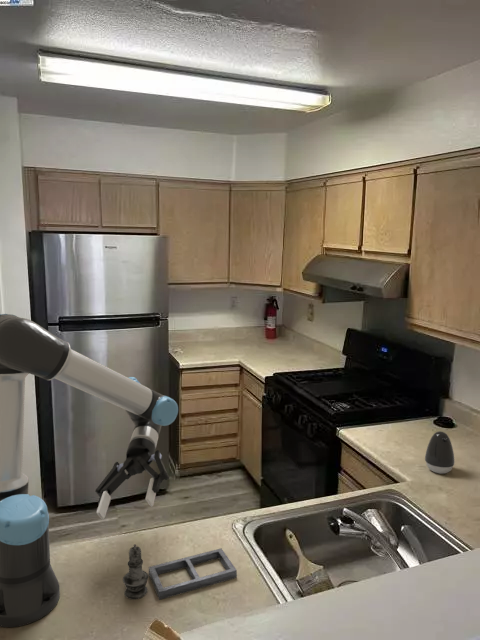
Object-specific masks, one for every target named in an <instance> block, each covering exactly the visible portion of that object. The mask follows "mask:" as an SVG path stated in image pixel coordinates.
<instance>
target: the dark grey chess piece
mask: <svg viewBox="0 0 480 640" xmlns="http://www.w3.org/2000/svg"><path fill="white" fill-rule="evenodd" d="M143 563H144V560H143V559H142V550H141V548H140V547H139V546H138V545H137V544H133V546H132V547H130V548H129V552H128V561H127V566H128V572H127V573H125V574H124V575H123V577H122V582H123V584H124V587H125V588H126V589H124V597H126V598H127V599H128V600H133V601H134V600H139V599H141V598H144V597H145V596H146V595H147V593H148V586H146V585H147V582H148V580H149V573H148V572H147V571H145V570H143Z"/></svg>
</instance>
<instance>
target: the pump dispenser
mask: <svg viewBox="0 0 480 640" xmlns="http://www.w3.org/2000/svg"><path fill="white" fill-rule="evenodd" d="M425 450H426V451H425V455H424V461H425V464H426V466H427V469H429V470H430V471H432V472H433V473H435V474H448V473H450V471H452V469H453V467H454V466H455V463H456V461H455V453H454V448H453V444H452V441H451V439H450V437H449V435H448V433H446V432H444V431H442V430H440V431H435V432H434V433H433V435H432V436H431V438H430V439H429V442H428V444H427V447H426V449H425Z"/></svg>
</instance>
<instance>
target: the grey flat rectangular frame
mask: <svg viewBox="0 0 480 640" xmlns="http://www.w3.org/2000/svg"><path fill="white" fill-rule="evenodd" d="M214 560H219V561H220V563H221V565H222V566H223V568H224V569H225V570H223V571H219V572H215V573H211V574H207V575H204V576H201V577H200V575H199V574H198V572H197V570H196V568H195V566H196V565H199V564H204V563H207V562H210V561H214ZM180 569H186V571H187V573H188V575H189V577H190V580H187V581H182V582H178V583H175V584H173V585H168V586H166V587H164V586H163V583H162V582H161V580H160V577H159V575H162V574H165V573H169V572H173V571H176V570H177V571H178V570H180ZM237 570H238V569H237V568H236V567H235V566H234V564H233V563H232V562H231V560H230V558H229V557H228V555H227V554H226V553H225V551H224V550H223V548H221V547H220V548H218V549H214V550H210V551H205V552H202V553H196V554H194V555H190V556H187V557H183V558H179V559H174V560H171V561H166V562H163V563H159V564H156V565H151V566H148V577H149V579H150V582H151V583H152V587H153V588H154V590H155V593H156V596H157V598H158V600H159V601H160V600H163V599H167V598H171V597H173V596H174V597H175V596H178V595H182V594H185V593H188V592H192V591H196V590H199V589H203V588H206V587H209V586H212V585H217V584H219V583H222V582H223V583H224V582H226V581H230V580H234V579H237V578H238V577H237V576H238V575H237V573H238V572H237Z"/></svg>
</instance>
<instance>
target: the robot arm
mask: <svg viewBox="0 0 480 640" xmlns="http://www.w3.org/2000/svg"><path fill="white" fill-rule="evenodd" d="M28 375H33V376H35V377H37V378H38V377H39V378H41V379H43V380H45V381H52V380H54V379H55V380H57V381H60V382H62V383H64V384H65V385H68V386H71V387H73V388H75V389H77V390H80V391H82V392H84V393H87V394H88V395H90V396H93V397H96V398H98V399H99V400H102V401H105V402H107V403H110V404H111V405H113V406H116V407H118V408H121V409H123V410H124V411H125V413H126V414H127V415H128V417H129V419H130V420H131V422H132V423H133V424H134V428H133V432H132V434H131V437H130V440H129V444H128V447H127V449H126V455H125V457H126V458H125V460H124V461H123V462H122V463H119V461H116V462H115V463H114V464H113V466H112V468H111V469H110V471H109V472H108V473H107V474H106V476H105V477H104V478H103V480H102V481H101V482H100V484H99V485H98V486H96V487H97V488H96V489H95V493H96V494H97V496H98V497H99V498H98V501H97V504H98V507H97V508H96V512H95V513H96V514H97V516H98V517H99V518H100V520H105V518H106V514H107V512H108V509H109V506H110V503H111V500H112V494H113V493H114V492H115V491H116V490H117V489H118V488H119V487H120V486H122V484H123V483H124V482H125V481H126V480H129V479H130V478H131V477H132V476H135V475H138V474H142V473H143V472H144V471H145V472H146V473H147V474H148V475H150V477H151V478H150V479H149V484H148V487H147V491H146V494H145V498H144V499H145V501H146V503H147V504H148V505H149V507H150V508H152V507H154V504H155V500H156V496H157V493H159V491H160V488H161V484H162V482H163V481H164V480H165V481H167V480H169V479H170V476H169V474H168V471H167V469H166V467H165V463H164V462H163V460H164V456H163V455H162V454H161V452H160V450H158V449H157V450H156V448H157V444H158V442H159V441H158V440H159V437H160V433H161V430H162V426H164V427H166V426H169V425H172V424H173V423H174V422H175V420H176V419H177V416H178V414H179V405H178V403H177V401H175V400H174V398H172V397H170V396H168V395H163V394H162V393H160V392H157V391H155V390H154V389H151V388H149V386H148V387H147V386H146V385H144V384H141V382H140V381H139V380H138V379H137V377H134V376H129V377H127V376H125V375H124V374H122V373H119V372H118V371H116V370H113V369H112V368H109V367H108V366H106V365H103V364H102V363H100V362H98V361H96V360H94V359H91V358H90V357H87V356H86V355H84V354H83V353H80V352H77V351H76V350H74V349H72V348H71V345H70V342H67V341H65V340H64V339H62V338H60V337H58V336H56V335H55V334H53V333H52V332H50V331H48V329H45V328H44V327H43V326H41V325H39V324H38V323H36V322H34V321H33V320H30V319H28V318H23V317H19V316H17V315H14V314H8V313H0V627H2V628H14V627H15V628H16V627H21V626H26V625H29V624H32V623H34V622H36V621H38V620H40V619H42V618H43V617H45V616H47V615H48V614H49V613H50V612H51V611H52V610H53V609H54V608H55V607H56V606H57V605H58V603H59V600H60V595H61V590H60V583H59V580H58V578H57V575H56V573H55V570H54V569H53V567H52V565H51V551H50V548H51V547H50V545H51V544H50V525H49V524H50V515H49V510H48V506H47V504H46V502H45V501H44V500H43V498H42V497H40V496H37V495H34V494H33V495H30V494H29V476H28V475H27V474H26V473H24V472H23V458H24V457H23V456H24V455H23V454H24V423H25V422H24V421H25V420H24V419H25V418H24V417H25V395H26V394H25V391H26V390H25V389H26V387H25V385H26V377H27V376H28ZM153 461H154V462H156V466H157V467H158V470H159V473H158V472H157V471H155V469H153V467H151V464H152V463H153ZM125 471H126V472H127V473H126V472H125Z"/></svg>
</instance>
